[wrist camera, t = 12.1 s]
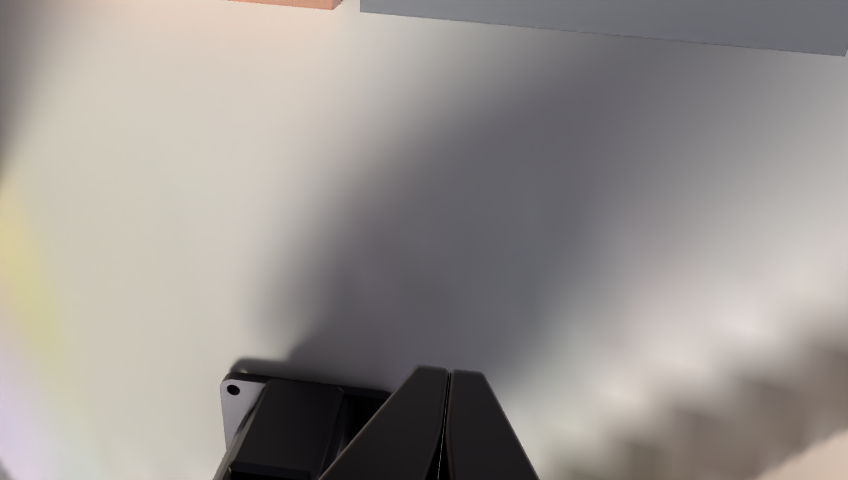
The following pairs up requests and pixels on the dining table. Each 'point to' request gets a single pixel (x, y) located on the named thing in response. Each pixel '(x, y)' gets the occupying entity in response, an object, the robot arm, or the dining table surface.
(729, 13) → the walled tunnel
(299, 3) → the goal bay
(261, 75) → the dining table surface
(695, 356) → the dining table surface
